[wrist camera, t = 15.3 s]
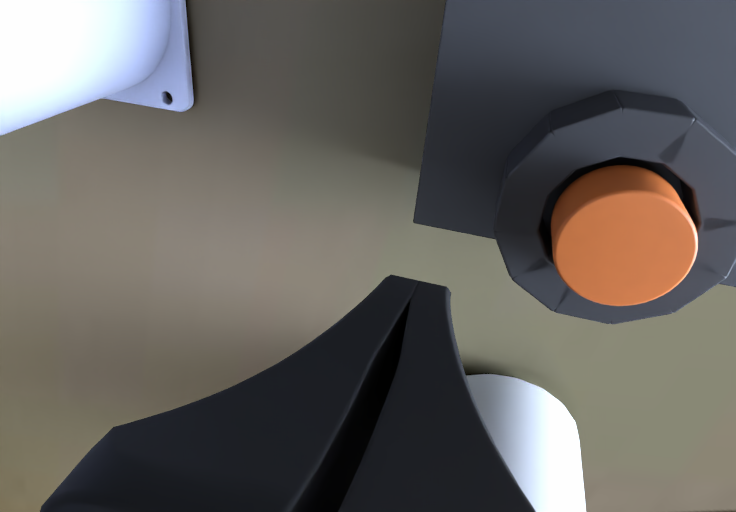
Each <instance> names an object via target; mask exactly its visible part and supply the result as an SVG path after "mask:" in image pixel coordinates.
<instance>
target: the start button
mask: <svg viewBox="0 0 736 512" xmlns="http://www.w3.org/2000/svg"><path fill="white" fill-rule="evenodd" d="M551 235H552V251H553V260H554V264H555V267H556V270H557V272H558V274H559V276H560V277H561V279H562V280H563V281H564V282H565V284H566V285H567V286H568V287H569V288H571V289H572V290H573V291H574V292H576V293H577V294H579V295H580V296H582V297H584V298H586V299H588V300H591V301H593V302H597V303H600V304H605V305H612V306H629V305H636V304H641V303H645V302H648V301H651V300H654V299H656V298H658V297H660V296H662V295H664V294H666V293H667V292H669V291H670V290H672V289H673V288H674V287H676V286H677V285H678V284H679V283H680V282H681V281H682V280H683V279H684V278H685V276H686V275H687V274H688V272H689V271H690V269H691V267H692V265H693V263H694V261H695V258H696V254H697V250H698V236H697V231H696V228H695V225H694V223H693V221H692V219H691V217H690V215H689V214H688V212H687V210H686V208H685V207H684V205H683V203H682V201H681V199H680V198H679V196H678V194H677V192H676V191H675V189H674V188H673V187H672V185H671V184H670V183H669V182H668V181H667V180H665V179H664V178H663V177H661V176H660V175H658V174H656V173H655V172H653V171H650V170H648V169H645V168H641V167H637V166H630V165H615V166H607V167H603V168H599V169H596V170H593V171H591V172H589V173H587V174H585V175H583V176H581V177H580V178H578V179H576V180H575V181H574V182H573V183H571V184H570V185H569V186H568V187H567V188H566V189H565V190H564V191H563V193H562V194H561V195H560V197H559V198H558V200H557V202H556V204H555V206H554V209H553V212H552V217H551Z"/></svg>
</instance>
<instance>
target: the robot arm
mask: <svg viewBox="0 0 736 512" xmlns="http://www.w3.org/2000/svg"><path fill="white" fill-rule="evenodd" d="M166 92H169V93H170V94H171V96H172V99H173V100H172V102H171V101H170V100H169V99H168V98H167V95H166ZM101 98H104V99H109V100H115V101H121V102H127V103H132V104H138V105H144V106H149V107H155V108H161V109H166V110H172V111H178V112H184V111H186V110H188V109H190V108H191V107H192V105H193V102H194V97H193V85H192V73H191V61H190V49H189V37H188V25H187V13H186V1H185V0H0V136H1V135H4V134H6V133H9V132H12V131H14V130H17V129H20V128H22V127H25V126H28V125H30V124H33V123H36V122H39V121H41V120H44V119H47V118H49V117H52V116H55V115H57V114H60V113H63V112H66V111H68V110H71V109H74V108H76V107H79V106H82V105H84V104H87V103H90V102H92V101H95V100H98V99H101ZM450 296H451V292H450V291H449V289H448V288H447V287H445V286H440V285H436V284H431V283H427V282H422V281H417V280H413V279H408V278H404V277H399V276H395V275H390V276H388V277H386V278H385V279H384V280H383V281H382V282H381V283H380V284H379V285H378V286H377V287H376V288H375V289H374V290H373V291H372V292H371V293H370V294H369V295H368V296H367V297H366V298H365V299H364V300H363V301H362V302H360V303H359V304H358V305H357V306H356V307H355V308H354V309H352V310H351V311H350V312H349V313H348V314H347V315H345V316H344V317H343V318H342V319H341V320H339V321H338V322H337V323H336V324H334V325H333V326H332V327H331V328H329V329H328V330H326V331H325V332H324V333H322V334H321V335H320V336H318V337H317V338H316V339H314V340H313V341H312V342H310V343H309V344H307V345H306V346H304V347H303V348H301V349H300V350H298V351H297V352H295V353H294V354H292V355H290V356H289V357H287V358H285V359H284V360H282V361H280V362H279V363H277V364H275V365H274V366H272V367H270V368H268V369H266V370H264V371H262V372H260V373H259V374H257V375H255V376H253V377H251V378H249V379H247V380H245V381H243V382H241V383H239V384H237V385H235V386H232V387H230V388H228V389H226V390H223V391H221V392H218V393H216V394H213V395H211V396H209V397H206V398H203V399H201V400H198V401H195V402H193V403H190V404H187V405H185V406H182V407H179V408H176V409H173V410H170V411H167V412H164V413H160V414H157V415H154V416H151V417H147V418H144V419H141V420H137V421H134V422H131V423H127V424H124V425H120V426H116V427H113V428H112V429H111V430H110V431H109V432H108V433H107V434H106V435H105V436H104V437H103V438H102V439H101V440H100V441H99V442H98V443H97V444H96V445H95V446H94V447H93V448H92V449H91V450H90V451H89V452H88V453H87V454H86V456H85V457H84V458H83V459H82V460H81V461H80V462H79V463H78V465H77V466H76V467H75V468H74V469H73V470H72V472H71V473H70V474H69V475H68V476H67V477H66V479H65V480H64V481H63V482H62V483H61V484H60V486H59V487H58V488H57V489H56V490H55V491H54V493H53V494H52V495H51V496H50V497H49V498H48V499H47V501H46V502H45V503H44V504H43V505H42V507H41V511H40V512H536V511H535V509H534V508H533V506H532V505H531V503H530V502H529V500H528V499H527V497H526V496H525V494H524V493H523V491H522V490H521V488H520V486H519V485H518V483H517V481H516V480H515V478H514V476H513V474H512V473H511V471H510V469H509V467H508V466H507V464H506V462H505V461H504V459H503V457H502V455H501V454H500V452H499V450H498V448H497V447H496V445H495V443H494V441H493V439H492V437H491V435H490V433H489V431H488V429H487V427H486V425H485V423H484V420H483V418H482V416H481V414H480V411H479V409H478V407H477V404H476V402H475V399H474V397H473V394H472V392H471V389H470V386H469V384H468V381H467V378H466V375H465V372H464V369H463V365H462V362H461V359H460V355H459V351H458V347H457V343H456V339H455V335H454V330H453V324H452V318H451V309H450Z"/></svg>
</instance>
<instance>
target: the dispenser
mask: <svg viewBox="0 0 736 512" xmlns="http://www.w3.org/2000/svg"><path fill="white" fill-rule="evenodd" d="M615 165H630V166H637V167H641V168H645V169H648V170H650V171H653V172H655V173H656V174H658V175H660V176H661V177H663V178H664V179H665V180H667V181H668V182H669V183H670V184H671V185H672V187H673V188H674V189H675V191H676V192H677V194H678V196H679V198H680V199H681V201H682V203H683V205H684V207H685V208H686V210H687V212H688V214H689V215H690V217H691V219H692V221H693V223H694V225H695V228H696V231H697V236H698V250H697V254H696V258H695V261H694V263H693V265H692V267H691V269H690V271H689V272H688V274H687V275H686V276H685V278H684V279H683V280H682V281H681V282H680V283H679V284H678V285H677V286H676V287H674V288H673V289H672V290H670V291H669V292H667V293H666V294H664V295H662V296H660V297H658V298H656V299H654V300H651V301H648V302H645V303H641V304H636V305H629V306H612V305H605V304H600V303H597V302H593V301H591V300H588V299H586V298H584V297H582V296H580V295H579V294H577V293H576V292H574V291H573V290H572V289H571V288H569V287H568V286H567V285H566V284H565V282H564V281H563V280H562V279H561V277H560V276H559V274H558V272H557V270H556V267H555V264H554V260H553V251H552V235H551V217H552V212H553V209H554V206H555V204H556V202H557V200H558V198H559V197H560V195H561V194H562V193H563V191H564V190H565V189H566V188H567V187H568V186H569V185H570V184H571V183H573V182H574V181H575V180H576V179H578V178H580V177H581V176H583V175H585V174H587V173H589V172H591V171H593V170H596V169H599V168H603V167H607V166H615ZM413 222H414V223H417V224H422V225H427V226H432V227H437V228H442V229H447V230H452V231H457V232H462V233H467V234H472V235H477V236H482V237H487V238H492V239H496V241H497V244H498V246H499V249H500V252H501V254H502V257H503V260H504V262H505V265H506V268H507V270H508V273H509V275H510V277H511V278H512V280H513V281H514V282H516V283H517V284H518V285H519V286H521V287H522V288H523V289H524V290H526V291H527V292H528V293H530V294H531V295H532V296H533V297H535V298H536V299H537V300H539V301H540V302H541V303H542V304H544V305H545V306H546V307H547V308H549V309H550V310H551V311H554V312H556V313H561V314H565V315H570V316H574V317H579V318H584V319H588V320H593V321H597V322H602V323H606V324H610V323H611V324H617V323H623V322H628V321H634V320H639V319H645V318H650V317H656V316H661V315H667V314H671V313H672V312H673V313H675V312H676V311H678V310H679V309H681V308H682V307H684V306H685V305H687V304H688V303H690V302H691V301H693V300H694V299H696V298H697V297H699V296H700V295H702V294H703V293H705V292H706V291H708V290H709V289H711V288H712V287H714V286H715V285H717V284H723V285H728V286H733V287H736V0H446V3H445V9H444V16H443V23H442V30H441V37H440V43H439V50H438V57H437V64H436V70H435V77H434V84H433V91H432V97H431V104H430V111H429V118H428V124H427V131H426V138H425V145H424V152H423V158H422V165H421V172H420V179H419V185H418V192H417V199H416V206H415V212H414V219H413Z"/></svg>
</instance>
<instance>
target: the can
mask: <svg viewBox="0 0 736 512" xmlns="http://www.w3.org/2000/svg"><path fill="white" fill-rule="evenodd" d="M466 378H467V381H468V384H469V386H470V389H471V392H472V394H473V397H474V399H475V402H476V404H477V407H478V409H479V411H480V414H481V416H482V418H483V420H484V423H485V425H486V427H487V429H488V431H489V433H490V435H491V437H492V439H493V441H494V443H495V445H496V447H497V448H498V450H499V452H500V454H501V455H502V457H503V459H504V461H505V462H506V464H507V466H508V467H509V469H510V471H511V473H512V474H513V476H514V478H515V480H516V481H517V483H518V485H519V486H520V488H521V490H522V491H523V493H524V494H525V496H526V497H527V499H528V500H529V502H530V503H531V505H532V506H533V508H534V509H535V511H536V512H586V506H585V495H584V484H583V474H582V463H581V453H580V442H579V437H578V432H577V427H576V422H575V421H574V419H573V418H572V416H571V415H570V413H569V412H568V411H567V409H566V408H565V406H564V405H563V404H562V403H561V402H560V401H559V400H557V399H556V398H555V397H553V396H552V395H551V394H549V393H548V392H547V391H545V390H544V389H543V388H540V387H538V386H535V385H533V384H531V383H528V382H526V381H523V380H521V379H519V378H514V377H508V376H502V375H495V374H480V375H467V376H466Z"/></svg>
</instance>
